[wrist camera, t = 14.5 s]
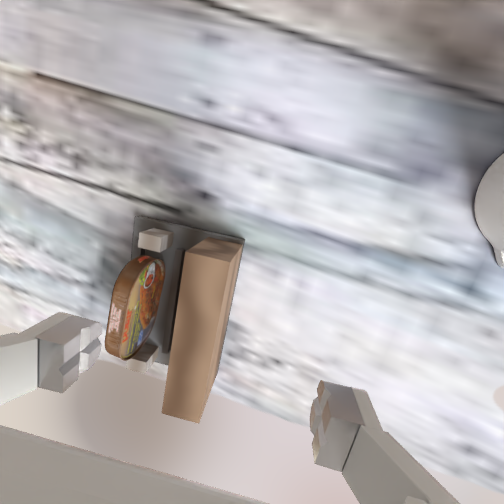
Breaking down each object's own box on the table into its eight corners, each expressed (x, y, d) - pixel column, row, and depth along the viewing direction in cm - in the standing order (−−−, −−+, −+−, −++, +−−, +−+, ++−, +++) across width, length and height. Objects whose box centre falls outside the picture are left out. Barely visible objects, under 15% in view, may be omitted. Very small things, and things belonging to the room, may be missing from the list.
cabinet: (244, 239, 38) (230, 257, 28) (217, 371, 44) (198, 426, 34) (140, 215, 39) (90, 225, 29) (127, 347, 45) (81, 394, 35)
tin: (151, 339, 42) (119, 375, 34) (132, 333, 42) (97, 367, 34) (170, 253, 38) (140, 270, 30) (150, 246, 38) (114, 262, 30)
